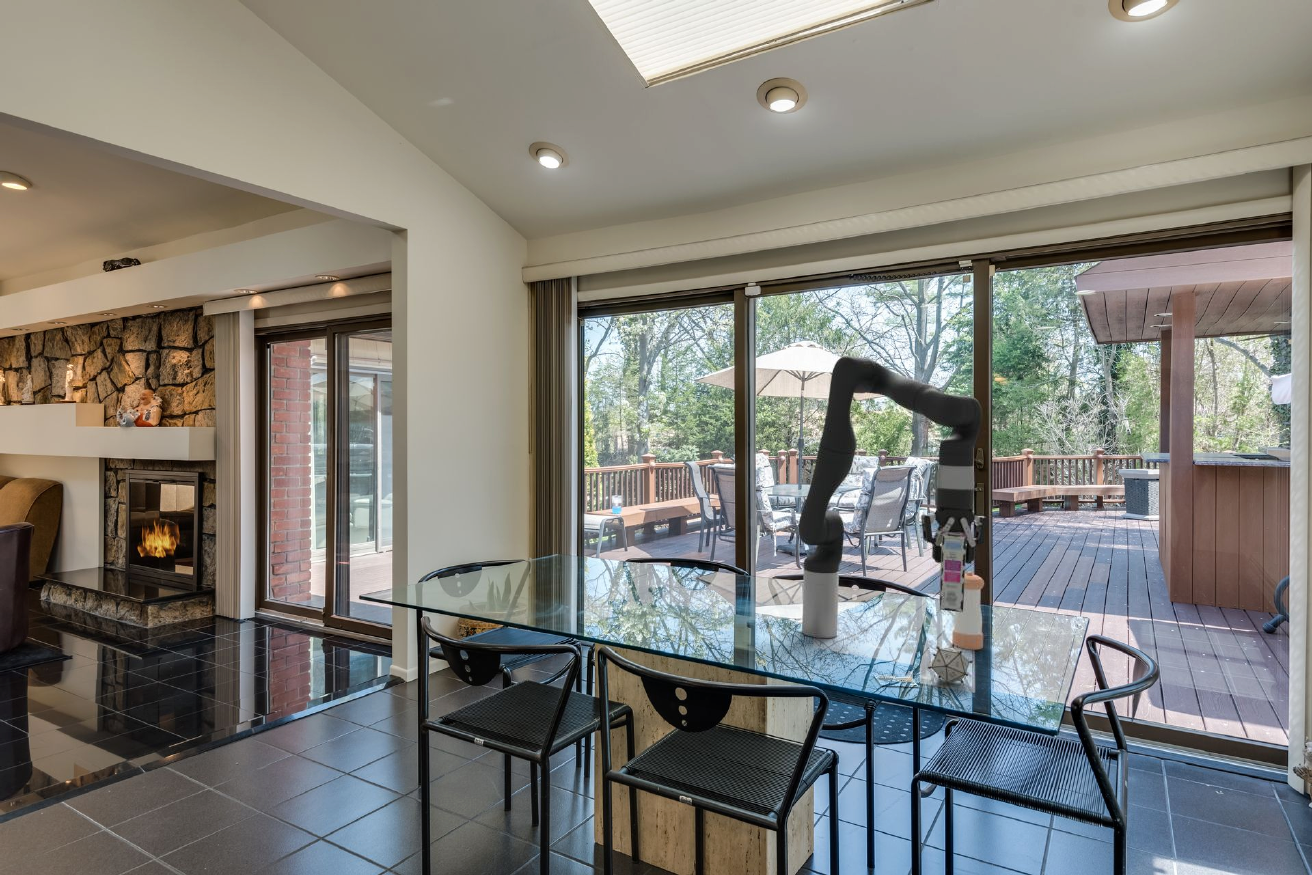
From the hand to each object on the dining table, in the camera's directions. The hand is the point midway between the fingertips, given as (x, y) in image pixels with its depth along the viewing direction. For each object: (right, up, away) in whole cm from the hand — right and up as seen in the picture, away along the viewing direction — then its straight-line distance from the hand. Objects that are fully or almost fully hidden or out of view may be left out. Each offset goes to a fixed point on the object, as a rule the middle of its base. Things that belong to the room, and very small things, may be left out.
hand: (952, 562), depth 159 cm
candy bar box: (0, -10, 0) cm, 10 cm away
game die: (-1, -27, 0) cm, 27 cm away
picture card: (-13, -26, 0) cm, 29 cm away
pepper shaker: (+16, -27, +29) cm, 42 cm away
